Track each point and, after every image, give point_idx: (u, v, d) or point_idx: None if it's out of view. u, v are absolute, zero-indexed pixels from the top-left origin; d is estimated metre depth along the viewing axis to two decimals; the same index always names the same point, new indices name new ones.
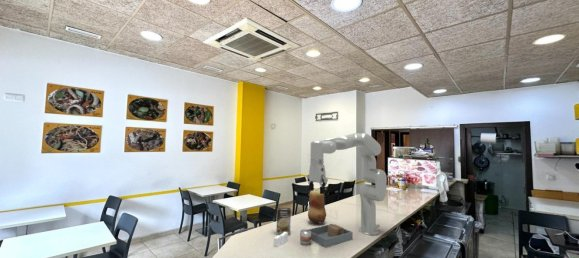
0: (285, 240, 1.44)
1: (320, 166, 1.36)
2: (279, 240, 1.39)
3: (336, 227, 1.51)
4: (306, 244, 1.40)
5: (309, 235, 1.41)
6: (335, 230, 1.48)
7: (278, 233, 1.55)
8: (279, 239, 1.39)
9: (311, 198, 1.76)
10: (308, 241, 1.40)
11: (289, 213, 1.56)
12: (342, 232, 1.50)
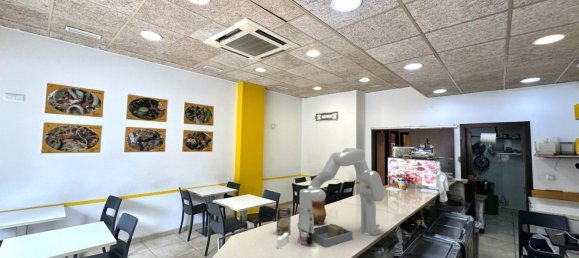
0: (287, 241, 1.43)
1: (308, 216, 1.40)
2: (282, 241, 1.38)
3: (336, 227, 1.51)
4: (306, 244, 1.40)
5: None
6: (335, 230, 1.48)
7: (278, 233, 1.55)
8: (282, 240, 1.38)
9: None
10: None
11: (289, 213, 1.56)
12: (342, 232, 1.50)
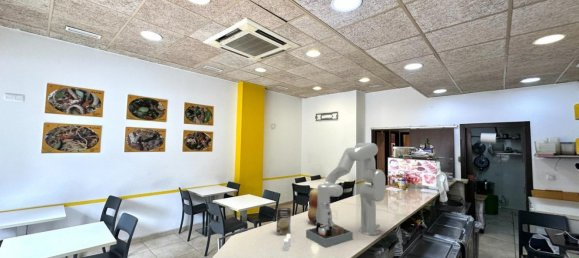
0: None
1: (327, 210, 1.44)
2: None
3: (336, 227, 1.51)
4: None
5: None
6: (335, 230, 1.48)
7: (278, 233, 1.55)
8: None
9: (311, 198, 1.76)
10: (326, 238, 1.44)
11: (289, 213, 1.56)
12: (342, 232, 1.50)
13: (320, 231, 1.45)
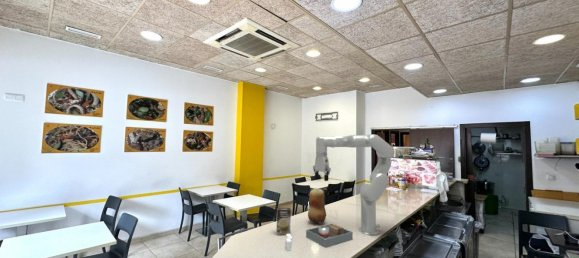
0: None
1: (324, 158, 1.62)
2: None
3: (336, 227, 1.51)
4: None
5: (328, 231, 1.45)
6: (335, 230, 1.48)
7: (278, 233, 1.55)
8: None
9: (311, 198, 1.76)
10: (326, 238, 1.44)
11: (289, 213, 1.56)
12: (342, 232, 1.50)
13: (320, 231, 1.45)
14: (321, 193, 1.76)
